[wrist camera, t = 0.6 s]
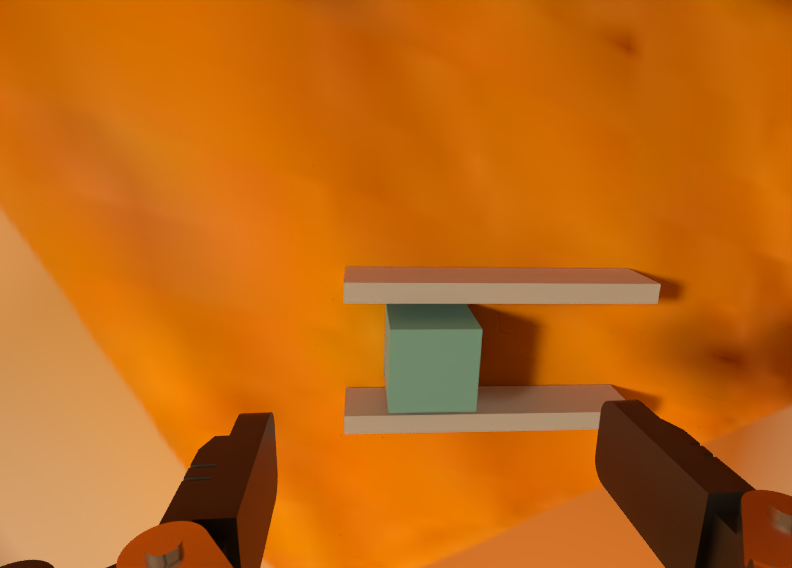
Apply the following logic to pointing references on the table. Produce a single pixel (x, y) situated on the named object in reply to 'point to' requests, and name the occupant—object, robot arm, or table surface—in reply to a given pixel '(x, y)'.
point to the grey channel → (491, 286)
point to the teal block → (431, 358)
